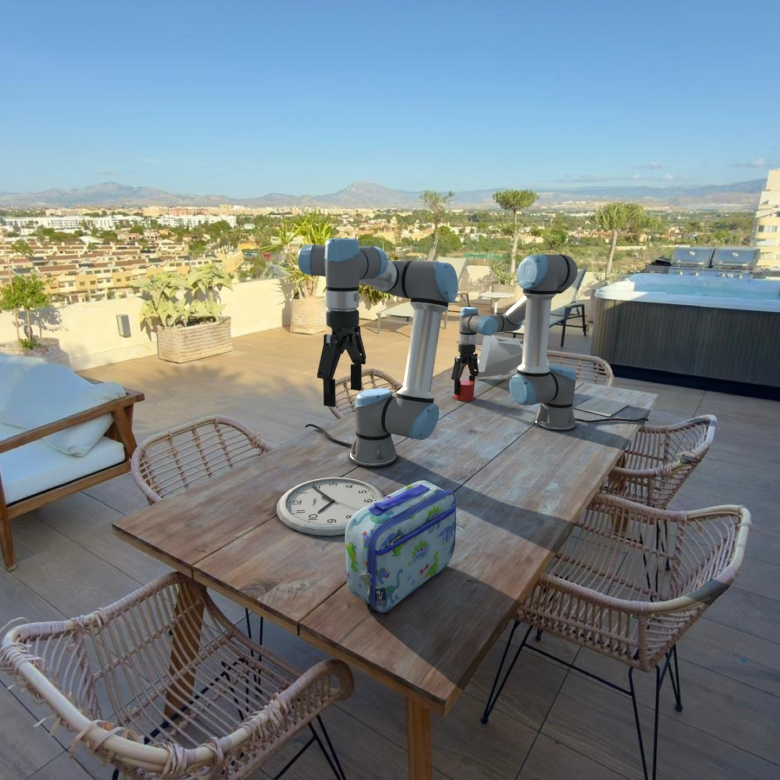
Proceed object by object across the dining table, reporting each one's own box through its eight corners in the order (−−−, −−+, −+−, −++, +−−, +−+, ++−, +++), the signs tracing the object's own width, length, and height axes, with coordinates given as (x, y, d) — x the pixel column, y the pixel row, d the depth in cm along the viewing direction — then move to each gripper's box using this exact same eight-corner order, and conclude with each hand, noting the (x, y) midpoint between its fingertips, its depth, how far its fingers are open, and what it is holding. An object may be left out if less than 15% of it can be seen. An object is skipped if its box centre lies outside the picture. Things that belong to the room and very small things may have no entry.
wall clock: (392, 527, 129) (268, 531, 127) (391, 533, 130) (269, 537, 127) (383, 473, 158) (282, 475, 155) (383, 478, 158) (282, 480, 156)
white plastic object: (490, 419, 265) (470, 397, 240) (471, 347, 287) (451, 319, 262) (561, 395, 253) (548, 369, 228) (536, 321, 275) (521, 290, 250)
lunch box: (374, 626, 100) (375, 530, 93) (338, 598, 107) (337, 508, 101) (459, 568, 117) (465, 484, 111) (424, 547, 124) (427, 467, 118)
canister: (452, 395, 238) (452, 379, 236) (469, 394, 239) (470, 379, 237) (457, 401, 230) (458, 385, 228) (475, 400, 231) (477, 384, 229)
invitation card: (608, 416, 214) (573, 407, 224) (608, 416, 214) (573, 408, 224) (628, 404, 229) (594, 396, 238) (628, 405, 229) (594, 397, 238)
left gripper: (330, 318, 106) (332, 416, 113) (379, 303, 128) (378, 385, 135) (298, 315, 109) (302, 411, 115) (352, 301, 131) (352, 382, 137)
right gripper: (475, 338, 237) (472, 385, 244) (444, 345, 222) (441, 395, 229) (489, 341, 232) (485, 388, 239) (458, 348, 217) (455, 399, 224)
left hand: (343, 397), depth 125 cm, fingers open, 13 cm apart
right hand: (464, 392), depth 234 cm, fingers open, 10 cm apart
